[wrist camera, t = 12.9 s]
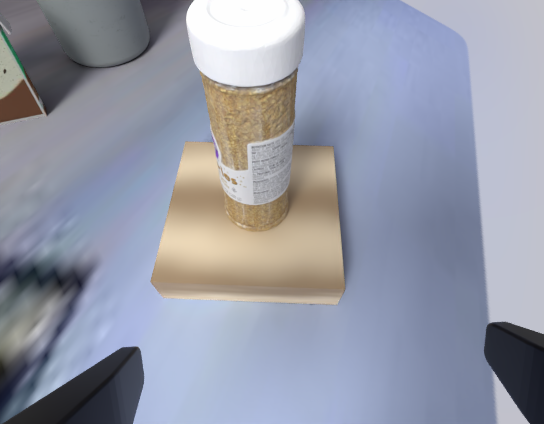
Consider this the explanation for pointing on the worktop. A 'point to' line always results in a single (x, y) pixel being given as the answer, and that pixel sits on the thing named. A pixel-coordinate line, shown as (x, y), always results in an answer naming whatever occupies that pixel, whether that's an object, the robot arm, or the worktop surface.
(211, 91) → the sprinkles bottle
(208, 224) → the oak stand
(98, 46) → the water bottle
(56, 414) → the robot arm
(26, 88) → the food container
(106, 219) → the worktop surface
